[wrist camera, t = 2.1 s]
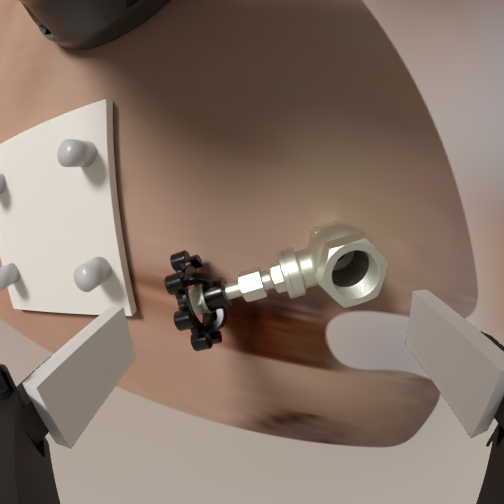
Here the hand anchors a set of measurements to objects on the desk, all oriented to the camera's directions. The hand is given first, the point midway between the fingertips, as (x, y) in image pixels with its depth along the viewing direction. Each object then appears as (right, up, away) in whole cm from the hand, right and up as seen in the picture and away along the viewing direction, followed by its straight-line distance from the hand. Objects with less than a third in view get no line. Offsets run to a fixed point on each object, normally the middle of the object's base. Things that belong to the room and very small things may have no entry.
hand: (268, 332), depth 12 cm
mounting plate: (-19, +6, +9) cm, 22 cm away
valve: (+1, +3, +9) cm, 10 cm away
